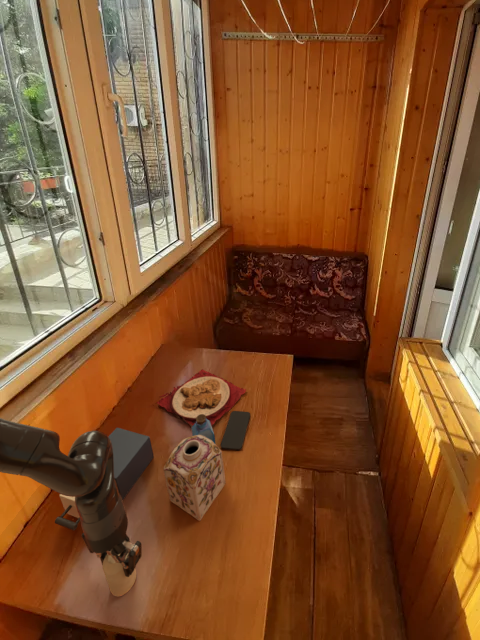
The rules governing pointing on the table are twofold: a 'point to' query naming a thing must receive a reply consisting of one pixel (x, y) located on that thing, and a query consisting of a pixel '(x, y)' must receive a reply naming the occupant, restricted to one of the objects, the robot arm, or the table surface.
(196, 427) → the perfume bottle
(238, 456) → the table surface
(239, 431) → the phone
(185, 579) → the table surface
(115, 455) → the cabinet
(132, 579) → the candle
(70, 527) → the drawer
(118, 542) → the robot arm
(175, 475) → the decorative jar
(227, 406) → the plate with food
